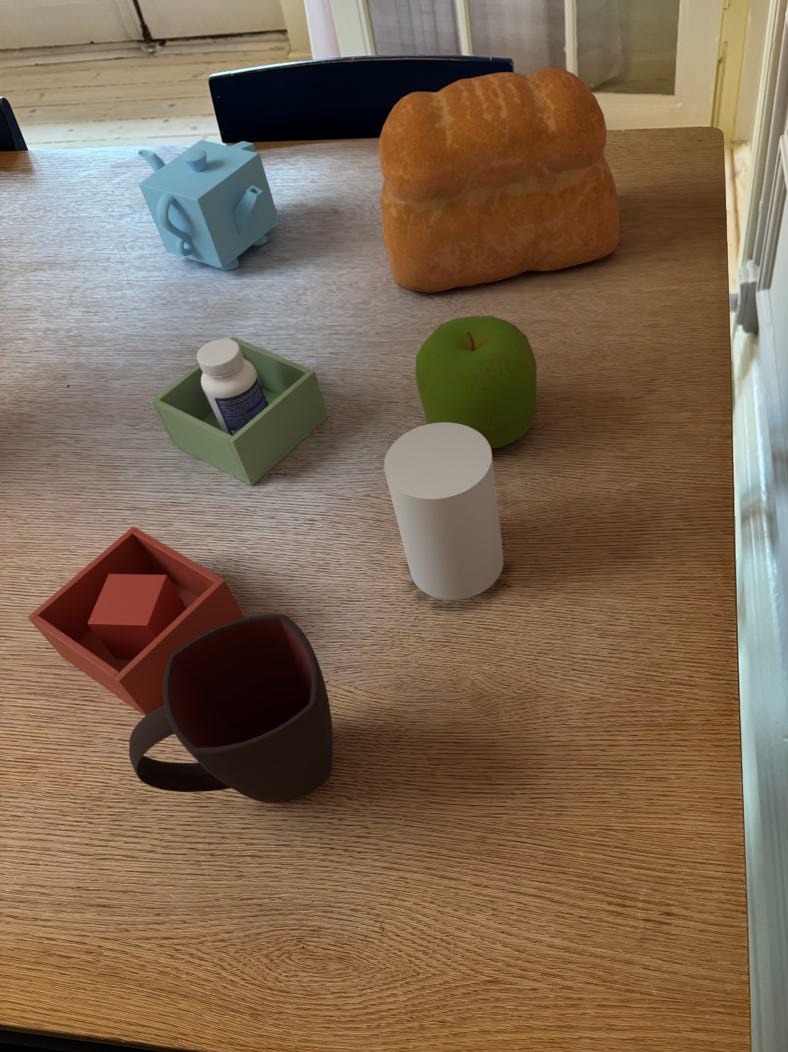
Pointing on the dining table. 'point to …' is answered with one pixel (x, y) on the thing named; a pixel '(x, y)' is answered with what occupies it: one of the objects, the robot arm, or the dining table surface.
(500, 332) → the apple
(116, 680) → the brick bin
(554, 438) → the dining table surface
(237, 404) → the pill bottle
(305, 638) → the mug
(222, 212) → the teapot
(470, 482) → the white solid cylinder
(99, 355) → the dining table surface
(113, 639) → the red block
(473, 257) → the bread
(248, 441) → the sage bin
